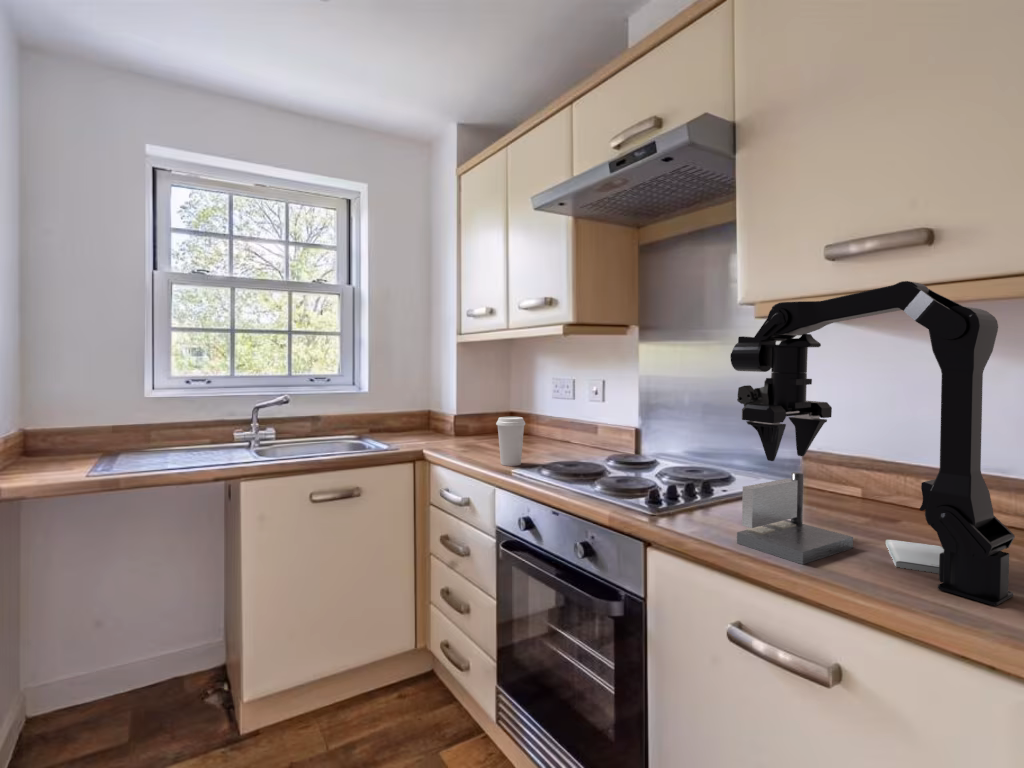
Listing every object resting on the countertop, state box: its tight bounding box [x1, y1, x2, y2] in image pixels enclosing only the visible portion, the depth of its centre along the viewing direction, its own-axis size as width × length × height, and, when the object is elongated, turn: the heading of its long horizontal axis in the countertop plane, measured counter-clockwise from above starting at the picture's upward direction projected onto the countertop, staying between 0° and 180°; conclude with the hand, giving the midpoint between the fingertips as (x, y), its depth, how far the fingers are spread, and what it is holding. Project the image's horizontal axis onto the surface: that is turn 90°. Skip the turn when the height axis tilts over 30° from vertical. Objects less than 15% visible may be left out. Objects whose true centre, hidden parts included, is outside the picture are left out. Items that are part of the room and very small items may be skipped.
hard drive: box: [885, 539, 944, 575], centre depth 87 cm, size 2×8×12 cm
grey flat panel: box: [741, 478, 798, 528], centre depth 98 cm, size 14×2×7 cm, turn 121°
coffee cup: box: [495, 416, 527, 467], centre depth 173 cm, size 10×10×15 cm
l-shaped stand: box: [736, 471, 854, 566], centre depth 94 cm, size 12×18×11 cm
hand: (786, 458), depth 97 cm, fingers open, 9 cm apart
